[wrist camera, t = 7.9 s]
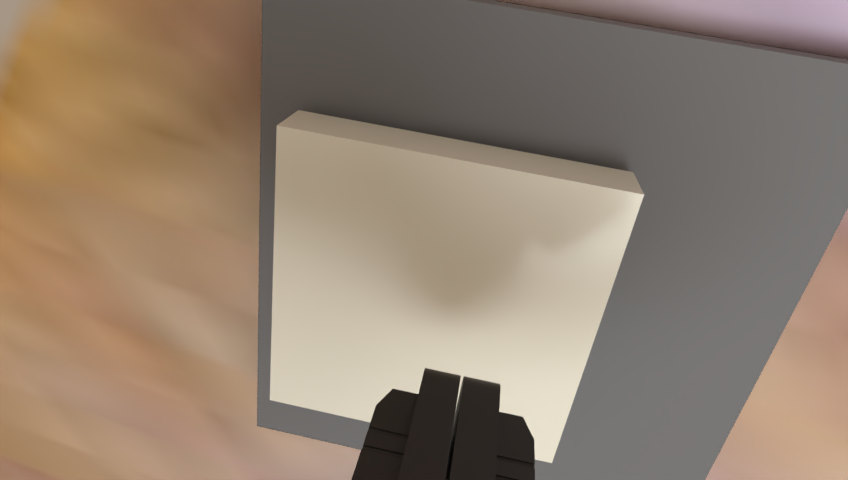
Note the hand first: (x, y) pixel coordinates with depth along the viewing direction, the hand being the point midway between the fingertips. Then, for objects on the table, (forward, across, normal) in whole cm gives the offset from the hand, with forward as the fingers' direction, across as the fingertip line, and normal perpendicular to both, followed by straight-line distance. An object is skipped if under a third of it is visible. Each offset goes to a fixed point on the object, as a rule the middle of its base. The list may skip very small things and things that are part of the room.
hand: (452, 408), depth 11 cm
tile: (+4, -3, 0) cm, 5 cm away
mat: (+6, -1, 0) cm, 6 cm away
